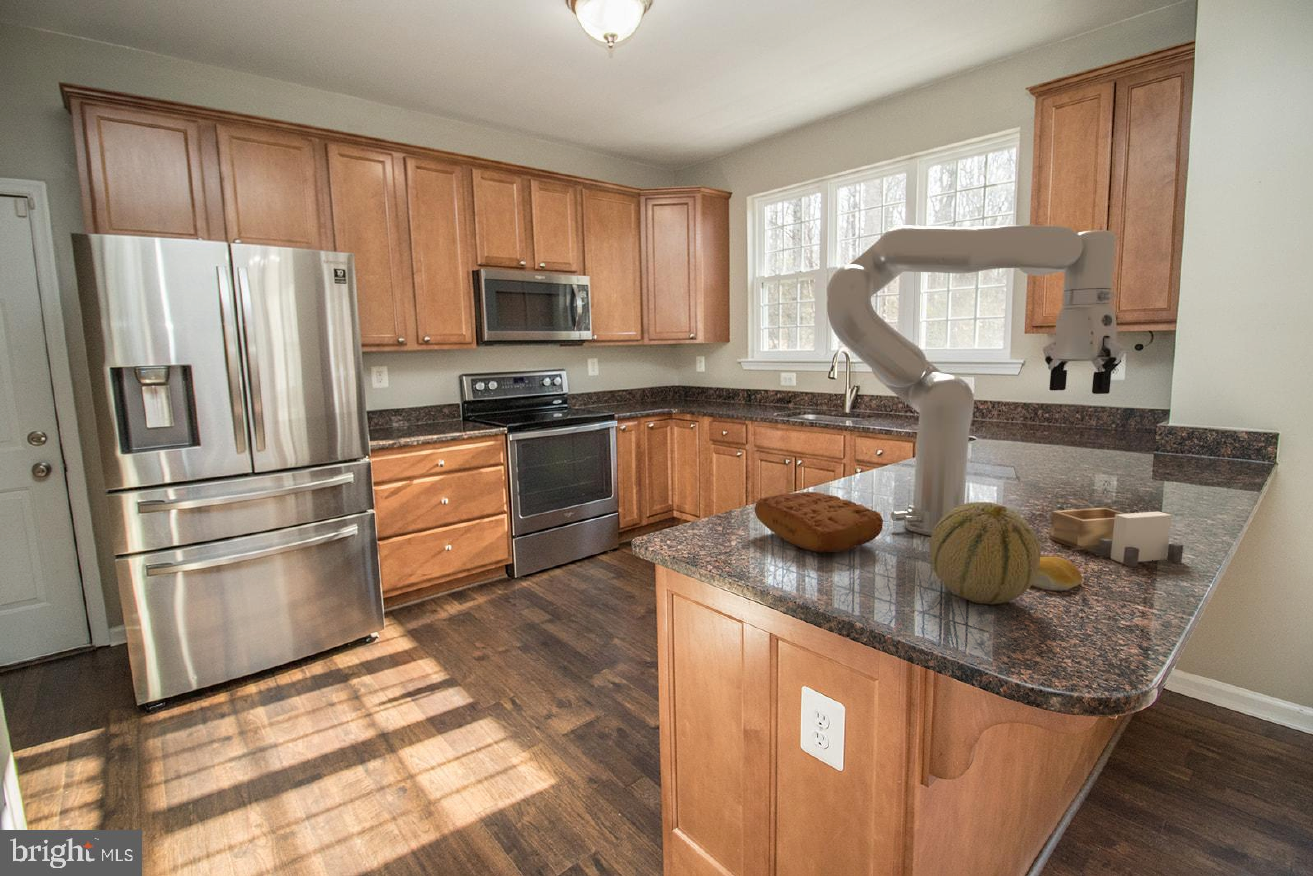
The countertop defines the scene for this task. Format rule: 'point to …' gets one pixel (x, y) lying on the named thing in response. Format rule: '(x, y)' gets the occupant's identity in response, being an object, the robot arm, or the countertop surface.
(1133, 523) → the white block
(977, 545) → the cantaloupe
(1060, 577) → the bread roll
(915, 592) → the countertop surface
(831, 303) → the robot arm
